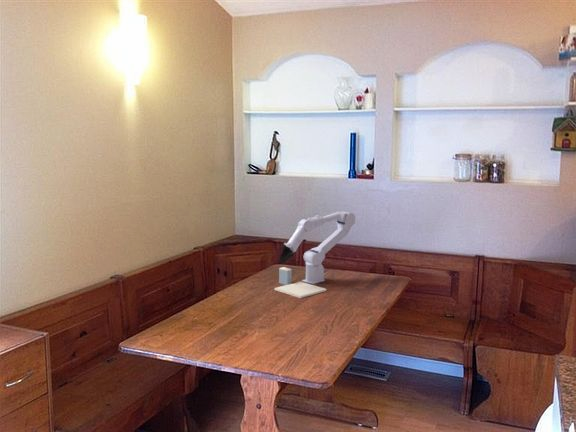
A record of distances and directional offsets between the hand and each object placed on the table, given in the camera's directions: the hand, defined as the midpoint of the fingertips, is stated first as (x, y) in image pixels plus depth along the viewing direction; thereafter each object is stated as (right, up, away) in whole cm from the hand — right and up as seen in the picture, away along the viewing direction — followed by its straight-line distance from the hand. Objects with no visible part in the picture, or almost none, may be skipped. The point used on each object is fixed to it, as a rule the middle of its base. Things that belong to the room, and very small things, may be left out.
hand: (281, 262), depth 265 cm
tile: (+10, -13, -6) cm, 18 cm away
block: (+2, -12, +6) cm, 13 cm away
